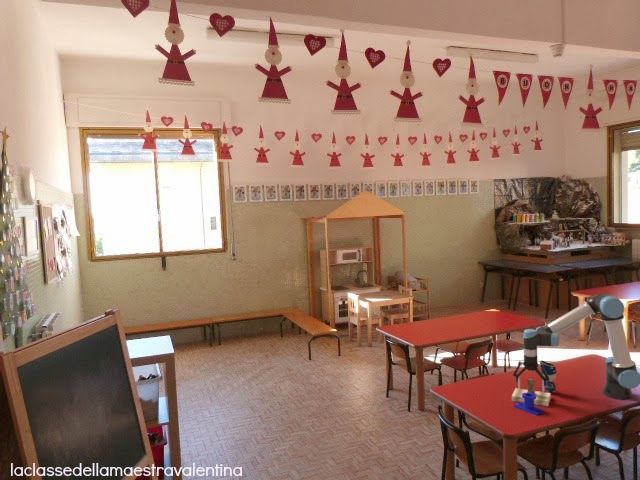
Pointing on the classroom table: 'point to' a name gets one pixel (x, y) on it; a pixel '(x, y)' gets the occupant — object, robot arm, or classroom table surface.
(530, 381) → the peg
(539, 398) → the board
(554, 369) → the blue tall vessel
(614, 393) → the robot arm
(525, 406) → the mount
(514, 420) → the classroom table surface
